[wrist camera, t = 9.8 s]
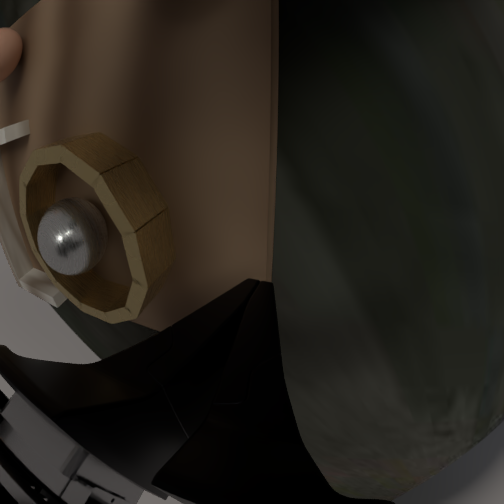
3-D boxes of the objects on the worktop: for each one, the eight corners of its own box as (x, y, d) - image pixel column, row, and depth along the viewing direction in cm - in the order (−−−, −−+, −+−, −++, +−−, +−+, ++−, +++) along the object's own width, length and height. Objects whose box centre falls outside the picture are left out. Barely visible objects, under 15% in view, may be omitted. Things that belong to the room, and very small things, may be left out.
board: (276, -78, 5) (254, -115, 2) (267, 345, 17) (252, 387, 14) (1, 45, 11) (-29, 51, 8) (41, 272, 22) (20, 291, 20)
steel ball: (117, 189, 13) (51, 218, 9) (128, 261, 15) (74, 299, 11) (74, 186, 14) (18, 210, 11) (86, 247, 16) (38, 277, 12)
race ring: (161, 125, 10) (120, 136, 8) (185, 312, 16) (164, 343, 14) (37, 143, 13) (6, 156, 11) (72, 276, 18) (50, 296, 16)
